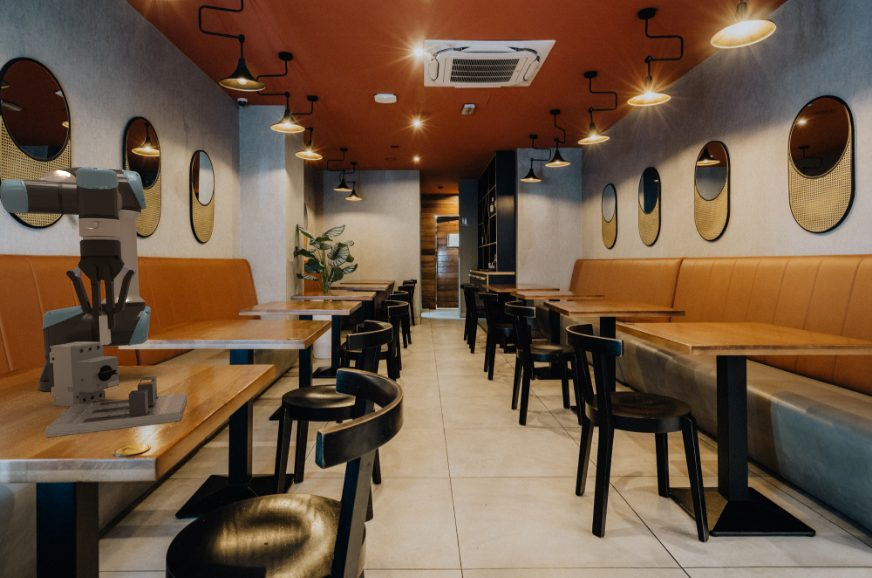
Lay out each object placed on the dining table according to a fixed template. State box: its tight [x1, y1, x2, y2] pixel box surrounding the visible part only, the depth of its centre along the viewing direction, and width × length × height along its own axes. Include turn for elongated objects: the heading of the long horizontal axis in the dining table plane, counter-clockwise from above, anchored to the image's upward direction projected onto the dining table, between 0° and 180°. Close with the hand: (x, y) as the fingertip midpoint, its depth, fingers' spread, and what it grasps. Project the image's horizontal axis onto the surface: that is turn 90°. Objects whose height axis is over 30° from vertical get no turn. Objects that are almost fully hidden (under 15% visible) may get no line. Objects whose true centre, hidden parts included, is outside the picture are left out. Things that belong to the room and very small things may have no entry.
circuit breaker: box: [50, 342, 120, 407], centre depth 123 cm, size 8×14×15 cm, turn 78°
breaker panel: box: [45, 376, 188, 438], centre depth 110 cm, size 18×24×7 cm
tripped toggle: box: [136, 380, 156, 406], centre depth 112 cm, size 4×3×5 cm
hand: (105, 343), depth 109 cm, fingers closed
